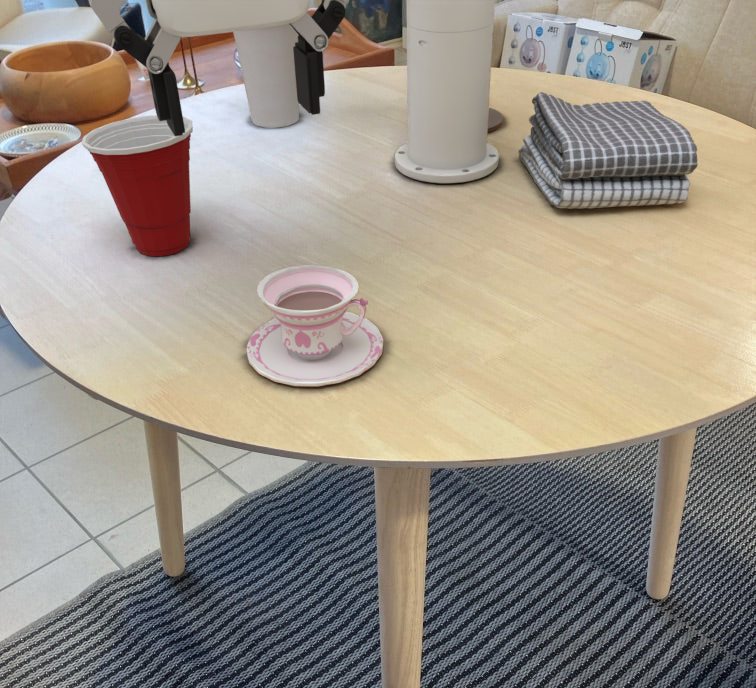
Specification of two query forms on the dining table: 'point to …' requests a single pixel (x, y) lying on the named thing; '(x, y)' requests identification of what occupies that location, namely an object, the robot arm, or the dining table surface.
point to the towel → (607, 154)
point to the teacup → (313, 328)
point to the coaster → (494, 120)
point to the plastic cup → (147, 180)
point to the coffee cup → (269, 74)
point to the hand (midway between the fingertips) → (243, 119)
